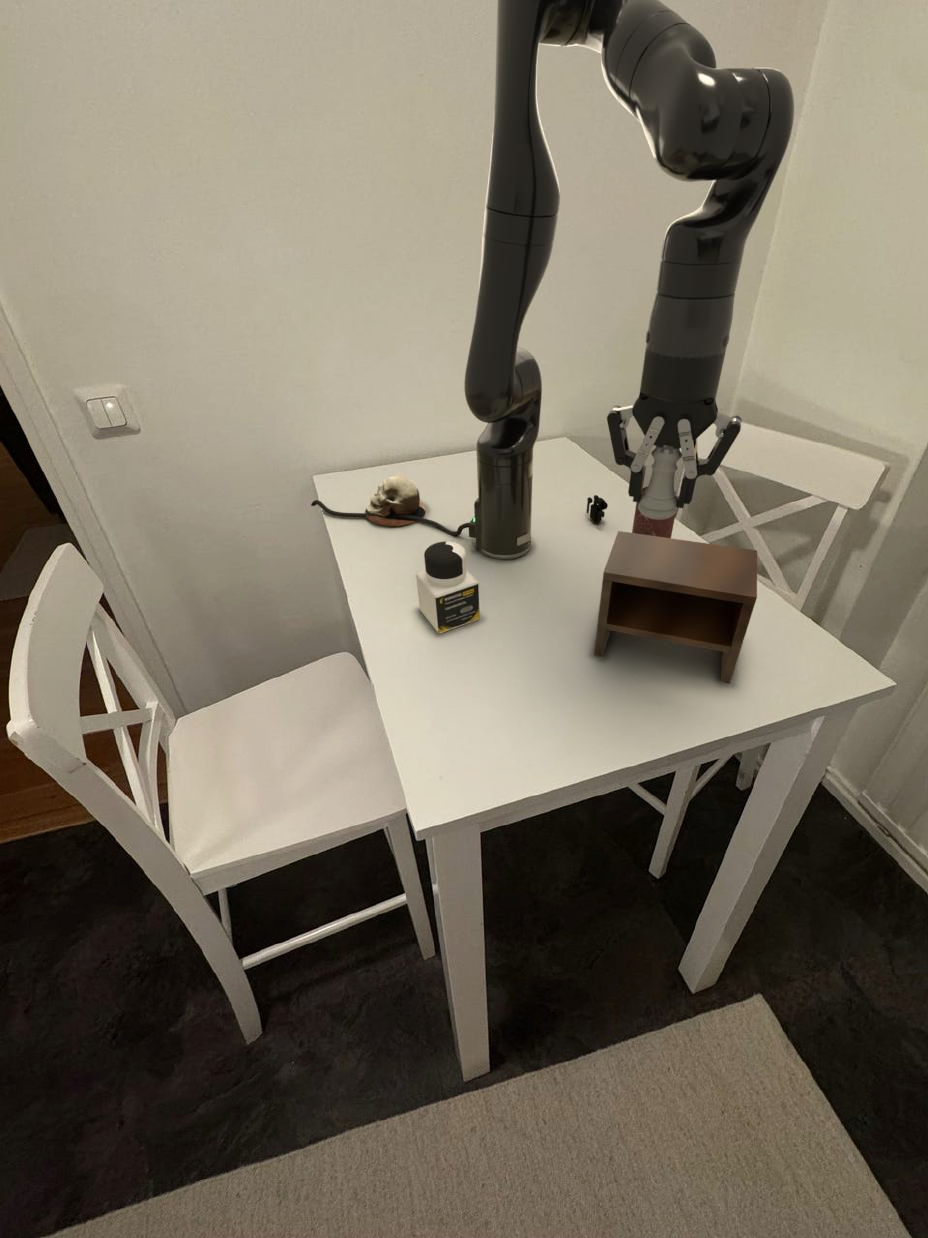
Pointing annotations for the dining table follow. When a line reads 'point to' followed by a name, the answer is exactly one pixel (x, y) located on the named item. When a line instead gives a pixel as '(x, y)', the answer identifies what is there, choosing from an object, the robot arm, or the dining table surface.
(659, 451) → the rook chess piece
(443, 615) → the medicine bottle
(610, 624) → the shelf
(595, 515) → the wireless earbuds
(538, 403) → the robot arm
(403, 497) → the skull
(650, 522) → the can
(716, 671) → the dining table surface
